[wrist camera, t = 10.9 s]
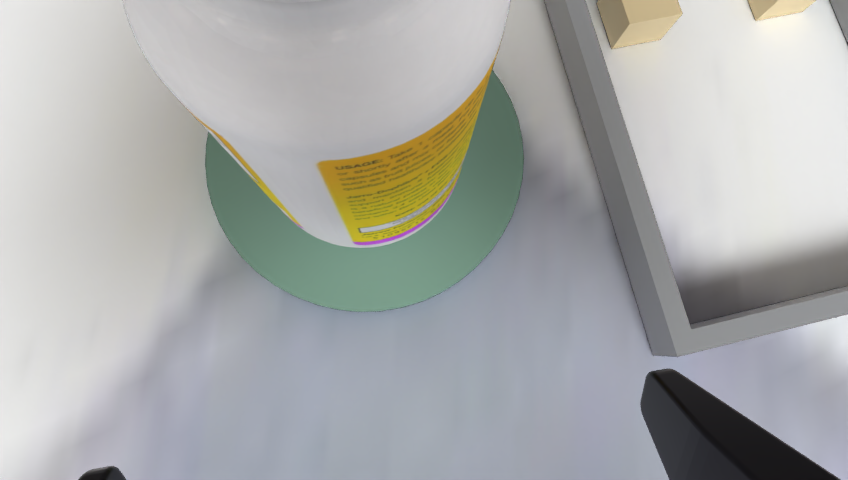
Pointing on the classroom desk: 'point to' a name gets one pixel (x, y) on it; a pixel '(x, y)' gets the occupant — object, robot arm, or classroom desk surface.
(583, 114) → the tray
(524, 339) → the classroom desk surface
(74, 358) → the classroom desk surface
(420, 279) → the coaster
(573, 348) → the classroom desk surface
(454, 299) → the classroom desk surface
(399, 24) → the supplement bottle
